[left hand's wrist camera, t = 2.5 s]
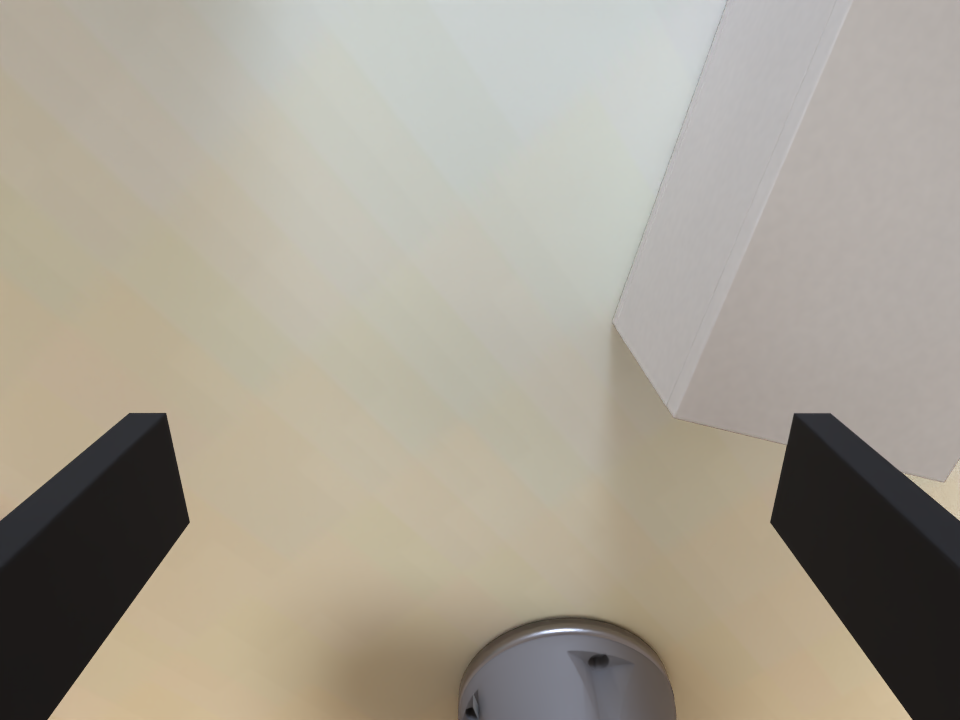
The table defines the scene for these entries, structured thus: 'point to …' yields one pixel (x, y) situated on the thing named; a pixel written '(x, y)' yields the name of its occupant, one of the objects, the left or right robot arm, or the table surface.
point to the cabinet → (813, 231)
